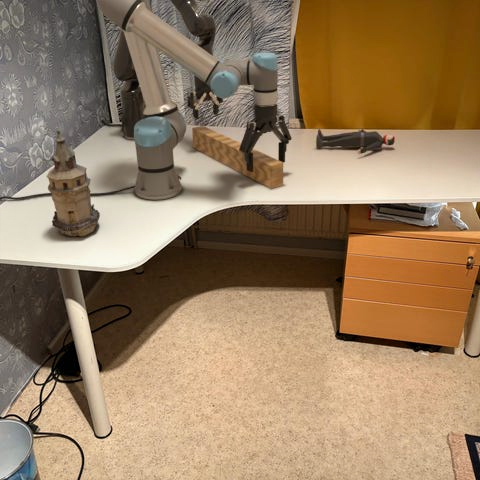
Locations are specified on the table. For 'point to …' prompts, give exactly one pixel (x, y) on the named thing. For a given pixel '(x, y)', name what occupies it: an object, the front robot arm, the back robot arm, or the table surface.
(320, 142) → the toy
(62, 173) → the miniature building
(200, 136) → the post
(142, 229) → the table surface
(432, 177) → the table surface
